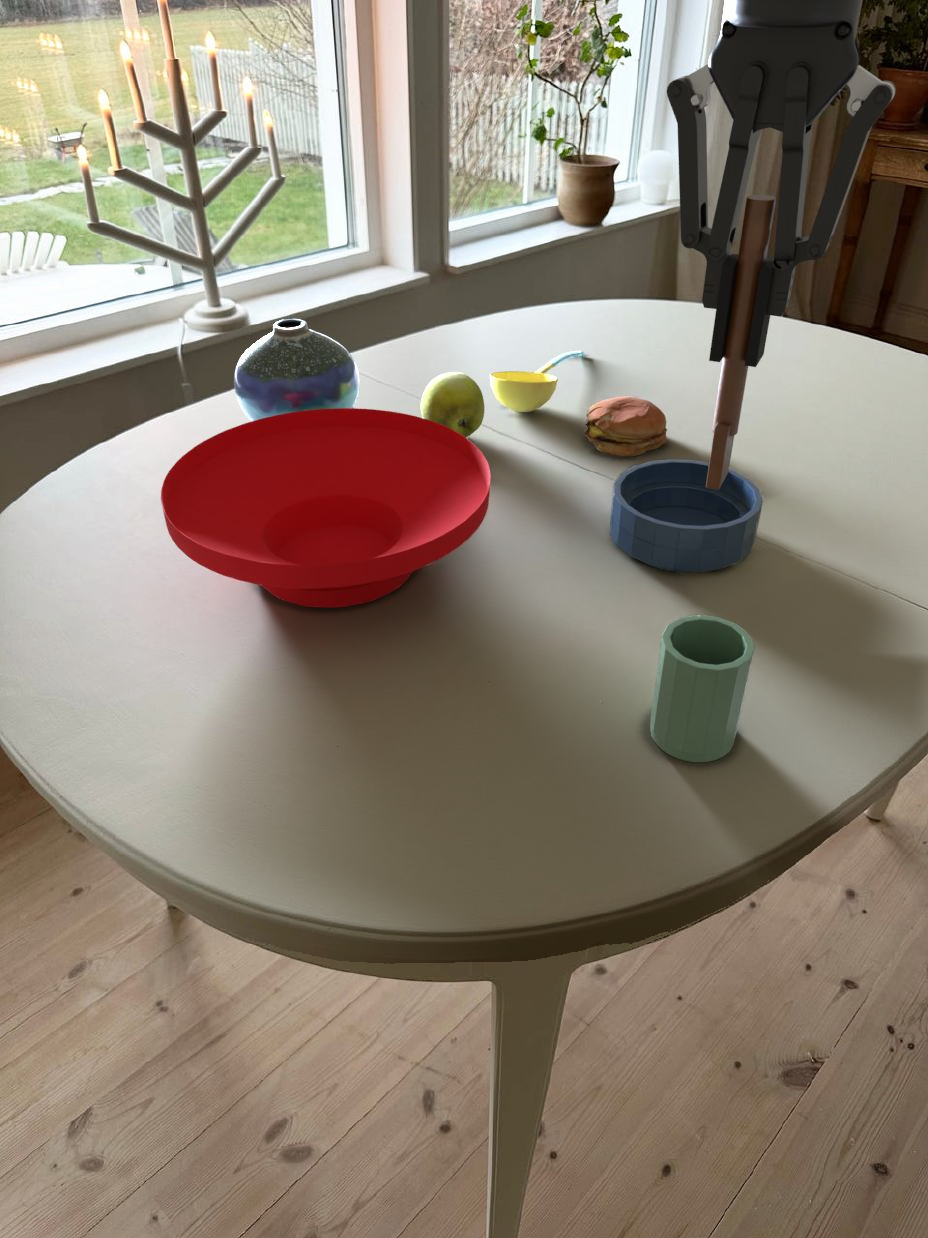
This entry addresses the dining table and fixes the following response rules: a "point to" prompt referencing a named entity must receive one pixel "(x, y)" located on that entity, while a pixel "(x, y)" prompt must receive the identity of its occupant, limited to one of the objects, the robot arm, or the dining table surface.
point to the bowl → (326, 502)
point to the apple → (454, 403)
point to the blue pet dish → (684, 516)
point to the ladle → (527, 386)
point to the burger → (625, 426)
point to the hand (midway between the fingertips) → (736, 356)
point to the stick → (739, 333)
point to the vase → (295, 373)
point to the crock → (700, 687)
